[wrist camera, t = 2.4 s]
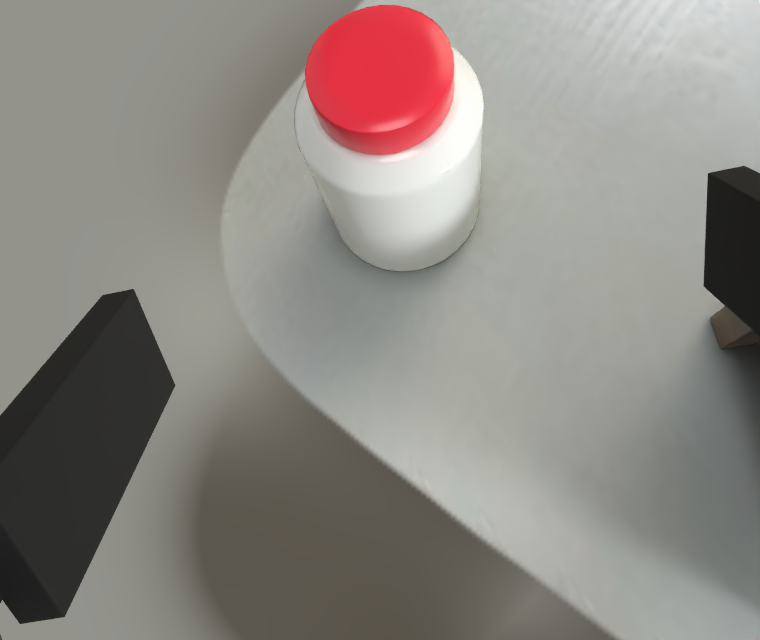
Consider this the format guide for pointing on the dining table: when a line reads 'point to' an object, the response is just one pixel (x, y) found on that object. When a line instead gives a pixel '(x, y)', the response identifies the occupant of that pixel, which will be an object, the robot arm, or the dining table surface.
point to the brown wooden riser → (732, 330)
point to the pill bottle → (393, 136)
